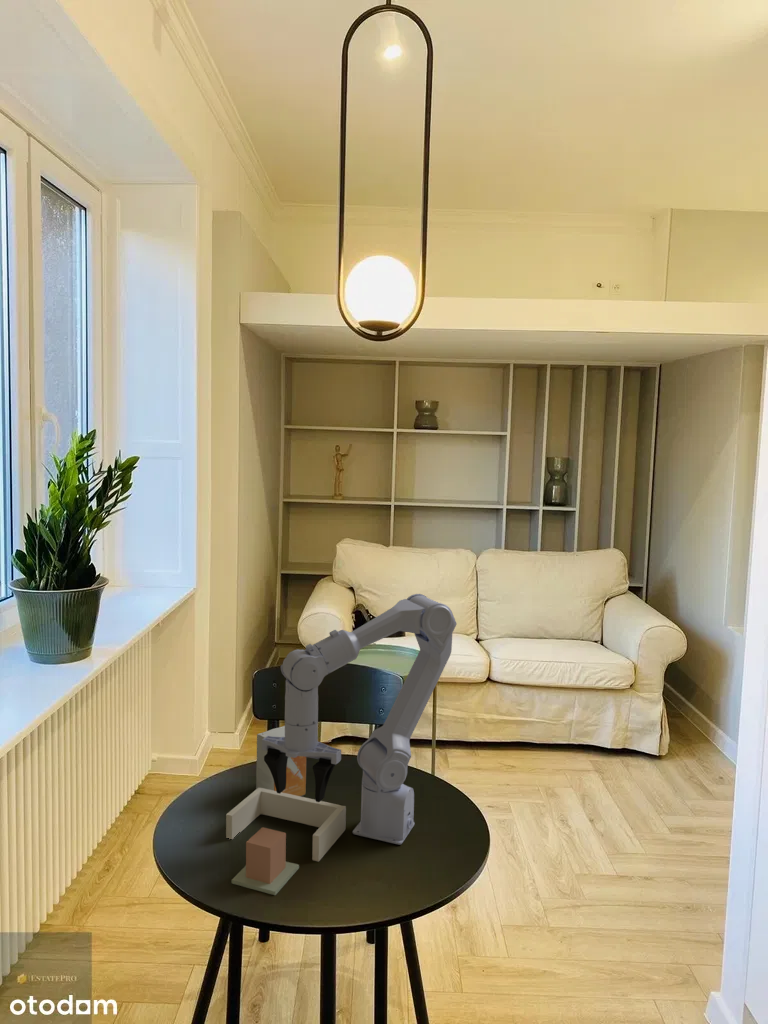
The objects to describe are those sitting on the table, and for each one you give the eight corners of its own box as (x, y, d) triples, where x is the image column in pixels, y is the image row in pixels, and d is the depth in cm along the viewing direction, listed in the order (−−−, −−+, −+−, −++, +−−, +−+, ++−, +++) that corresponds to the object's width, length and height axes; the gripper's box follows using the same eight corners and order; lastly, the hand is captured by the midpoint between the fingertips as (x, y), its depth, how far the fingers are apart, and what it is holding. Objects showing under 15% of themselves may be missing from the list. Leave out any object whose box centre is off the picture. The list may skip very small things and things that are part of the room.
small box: (273, 807, 142) (274, 743, 141) (255, 796, 146) (255, 733, 145) (306, 794, 147) (307, 732, 146) (288, 783, 152) (288, 723, 151)
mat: (298, 868, 122) (299, 864, 122) (275, 895, 115) (275, 891, 114) (257, 857, 125) (257, 854, 125) (231, 883, 117) (231, 879, 117)
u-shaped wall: (345, 829, 134) (345, 806, 134) (318, 861, 124) (319, 836, 124) (258, 809, 141) (258, 787, 140) (226, 838, 131) (226, 814, 130)
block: (285, 867, 121) (285, 833, 121) (270, 884, 116) (270, 848, 116) (262, 861, 123) (262, 827, 122) (245, 877, 118) (246, 842, 118)
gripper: (253, 721, 125) (252, 797, 127) (329, 735, 120) (328, 814, 121) (273, 707, 132) (272, 779, 133) (346, 720, 127) (345, 795, 128)
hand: (300, 795), depth 128 cm, fingers open, 7 cm apart
